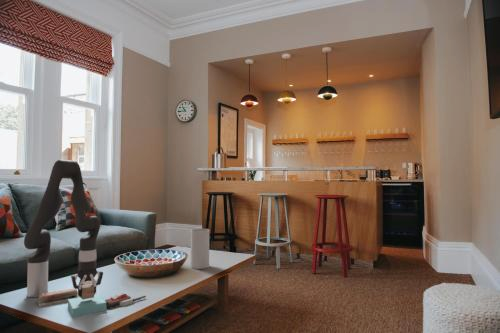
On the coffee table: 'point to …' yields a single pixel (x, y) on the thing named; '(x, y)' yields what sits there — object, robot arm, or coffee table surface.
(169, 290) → the coffee table surface
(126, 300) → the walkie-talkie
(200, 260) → the cylinder vase
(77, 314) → the teal base block
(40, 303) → the packaged product
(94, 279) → the sitting furry creature
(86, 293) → the walnut block
